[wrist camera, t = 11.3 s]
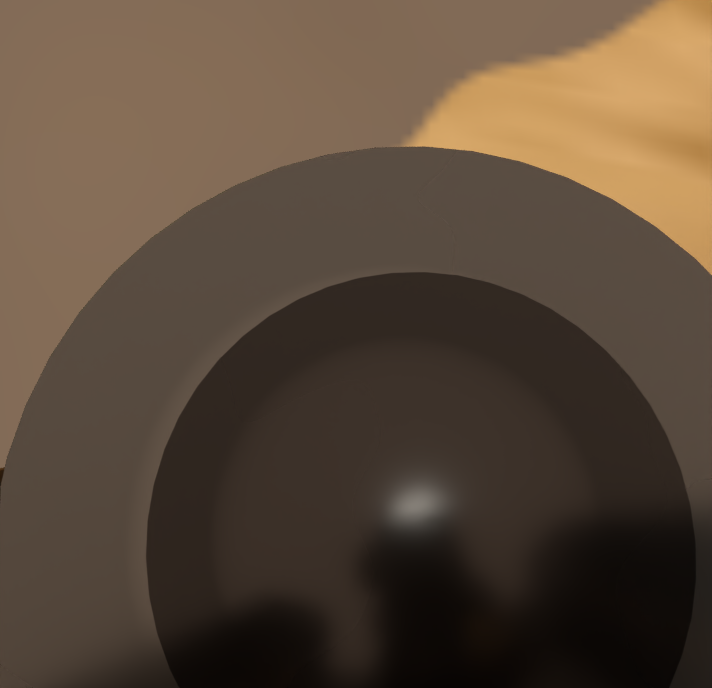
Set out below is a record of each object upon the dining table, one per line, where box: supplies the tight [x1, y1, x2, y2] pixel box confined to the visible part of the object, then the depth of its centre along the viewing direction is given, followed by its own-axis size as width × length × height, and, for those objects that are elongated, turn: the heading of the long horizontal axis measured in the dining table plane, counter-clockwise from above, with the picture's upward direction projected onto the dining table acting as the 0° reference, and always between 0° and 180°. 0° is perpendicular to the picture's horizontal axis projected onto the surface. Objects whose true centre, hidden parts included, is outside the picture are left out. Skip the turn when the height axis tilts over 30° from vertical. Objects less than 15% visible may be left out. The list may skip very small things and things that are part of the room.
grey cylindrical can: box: [0, 147, 712, 688], centre depth 10 cm, size 5×5×13 cm
